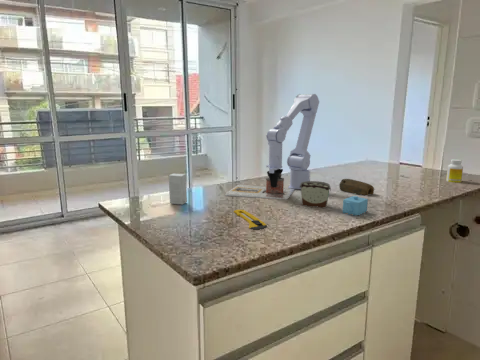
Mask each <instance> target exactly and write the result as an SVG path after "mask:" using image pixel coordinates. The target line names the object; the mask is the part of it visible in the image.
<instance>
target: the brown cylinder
mask: <svg viewBox="0 0 480 360" xmlns="http://www.w3.org/2000/svg"><path fill="white" fill-rule="evenodd" d="M338 188H339V190H340V191H342V192H346V193H352V194H354V193H356V195H360V194H362V195H361V196H365V195H368V194H371V195H374V192H375V188H374V185H372V184H371V183H367V182H363V181H359V180H356V179H351V178H343V179H341V181H340V183H339V186H338ZM368 196H369V195H368Z"/></svg>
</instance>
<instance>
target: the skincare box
mask: <svg viewBox="0 0 480 360" xmlns="http://www.w3.org/2000/svg"><path fill="white" fill-rule="evenodd" d="M168 191H169V194H168V195H169V204H171V203H172V204H173V205H181V206H182V205H184V204H186V203H188V197H187V196H188V195H187V193H188V191H187V174H186V173H171V174H169V175H168Z"/></svg>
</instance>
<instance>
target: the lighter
mask: <svg viewBox="0 0 480 360" xmlns="http://www.w3.org/2000/svg"><path fill="white" fill-rule="evenodd" d="M284 181H285V178H284V177H282V173H281V174H279V177H278V181H277V186H276V187H271V183H270V179H269V177H266V178H265V183H266V185H265V187H266V191H265V193H268V194H281V195H285V194H284V193H285V192H283V188H284Z"/></svg>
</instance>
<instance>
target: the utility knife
mask: <svg viewBox="0 0 480 360" xmlns="http://www.w3.org/2000/svg"><path fill="white" fill-rule="evenodd" d="M233 213H234V214H236V216H237V217H240V218H242V219H243V220H244V221H245V222H247V223H248V225H249V226H248V229H249V230H252V229H253V231H260V229H261V230H265V229H266V228H268V225H267V223H265V222H264V221H262V220H261V219H259V218H258V217H256V216H255V215H254V214H252V213H250V212H248V211H247V210H244V209H235V210H233ZM264 228H265V229H264Z"/></svg>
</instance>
